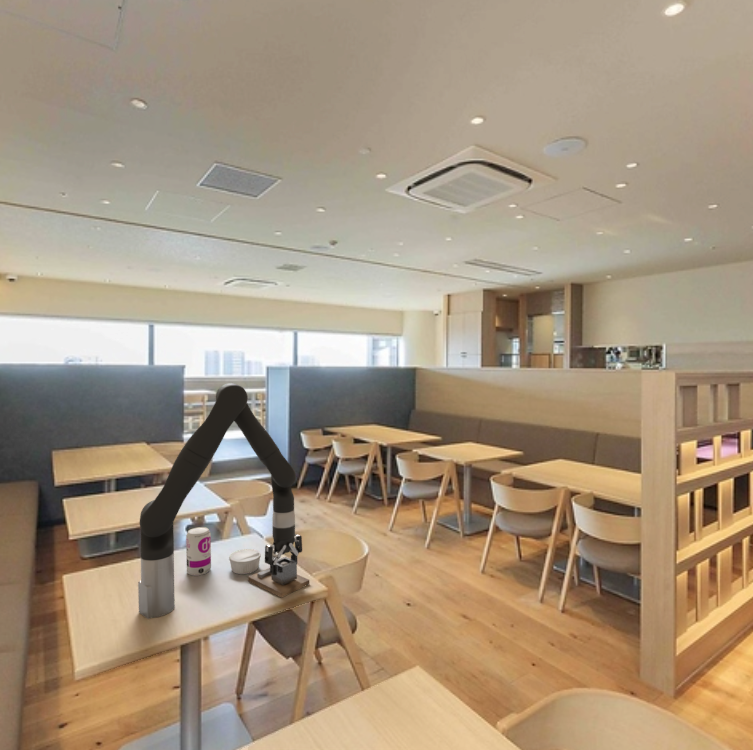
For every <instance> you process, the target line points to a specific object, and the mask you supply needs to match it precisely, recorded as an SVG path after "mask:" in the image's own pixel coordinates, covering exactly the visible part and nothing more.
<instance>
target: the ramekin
mask: <svg viewBox="0 0 753 750" xmlns="http://www.w3.org/2000/svg"><path fill="white" fill-rule="evenodd" d="M228 558H229V559H228V560H229V563H230V568H231V571H232V572H233V573H234V574H237V575H247V574H252V573H253V572H256V571H257V570H258V568H259V566H260V561H261V552H260V551H259V550H257V549H255V548H253V549H252V548H244V549H239V550H236V551H233V552H231V553H230V555H229V557H228Z"/></svg>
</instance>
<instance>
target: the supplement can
mask: <svg viewBox="0 0 753 750" xmlns="http://www.w3.org/2000/svg"><path fill="white" fill-rule="evenodd" d="M211 535H212V534H211V531H210V530H209V528H208V527H206V526H199V527H193V528H191V529H189V530H187V533H186V537H185V539H186V540H185V544H186V546H185V547H186V572H187V574H188V575H190V576H194V577H195V576H196V577H197V576H203V575H205V574H207V573H209V572H210V570H211V569H212V548H211V547H212V546H211V545H212V541H211V539H212V537H211Z"/></svg>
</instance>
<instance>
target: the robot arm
mask: <svg viewBox="0 0 753 750" xmlns="http://www.w3.org/2000/svg"><path fill="white" fill-rule="evenodd" d="M234 422H235V424H236V425H237V426H238V428H239V429H240V431H241V433H242V434H243V435H244V437H245V440H246V441H247V442H248V444H249V445H250V448H251V449H252V451H254V453H255V454H256V456H257V458H258V459H259V460H260V462H261V463H262V464H263V465H264V467H266V469H267V470H268V472H269V474H270V477H271V480H270V481H271V487H272V488H271V489H272V496H273V500H272V518H271V519H272V520H271V521H272V522H271V523H272V524H271V525H272V526H271V527H272V528H271V529H272V539H273V543H272V544H270V545H269V544H266V545H265V547H264V564H268V565H269V568H270V573H271V574H272V575H274V576H275V575H277V564H276V563H277V561H278V560H279V559H281V557H282V556H283V555H285V554H288V553H290V559H292V560H294V561H297V562H298V555H299V554H300V553H301V554H302V553H303V540H302V539H303V536H302V535H300V534H297V533H296V514H295V513H296V512H295V496H294V493H293V490H292V486H294V483H295V482H296V480H297V475H296V474H297V473H296V471H295V469H294V468H293V467H292V465H291V464H290V463H289V461H288V460H287V459H286V458H285V456H284V455H283V453H282V452H281V450H280V448H279V446H278V445H277V444H276V442H275V441H274V439H273V438H272V437H271V435H270V434H269V433H268V431H267V430H266V428H265V427H264V426H263V425H262V424H261V422H260V421H259V420H258V419H257V417H256V416H255V415H254V413H253V411H252V410H251V408H250V405H249V403H248V392H247V391H246V389H245V388H244V387H243V386H242V385H239V384H237V383H233V382H232V383H231V382H228V383H225V384H222V385H221V386H219V388H218V389H217V391H216V393H215V403H214V404H213V406H212V408H211V410H210V412H209V414H208V416H207V417H206V419H204V421H203V422H202V424H201V425H200V426H199V427H198V428H197V429H196V430H195V431H194V432H193V433H192V434H191V436H190V437H189V438H188V440H187V441H186V442H185V444H184V445H183V446H182V449H180V452H179V453H178V454H177V457H176V458H175V460H174V462H173V465H172V467H171V468H170V471H169V473H168V476H167V478H166V481H165V483H164V485H163V487H162V488H161V490H160V491H159V493H158V495H157V496H156V497H155V498H154V499H153V500H151V501H148V502H147V503H146V504H145V505H144V507H142V510H141V511H140V514H139V515H140V517H139V527H140V549H139V550H140V551H139V552H140V580H139V581H138V583H137V587H138V589H137V590H138V613H139V614H140V615H142V616H143V617H144V618H145V619H147V620H149V619H152V618H159V617H163V616H165V615H167V614H170V613H171V612H172V611H173V610H175V609H174V608H175V605H176V604H175V602H176V601H175V550H174V549H175V539H174V536H175V535H174V522H175V520H176V517H177V515H178V513H179V511H180V509H181V507H182V505H183V503H184V501H185V500H186V498H187V496H188V495H189V493H190V492H191V491H192V489H194V487H195V486H196V484H197V482H198V481H199V480H200V477H202V475H203V473H204V472H205V471H206V469H207V468H208V465H210V463H211V461H212V459H213V458H214V456H215V454H216V452H217V450H218V449H219V447H220V446H221V444H222V441H223V439H224V437H225V435H226V433H227V432H228V430H229V428H230V427H231V426H232V424H233V423H234Z"/></svg>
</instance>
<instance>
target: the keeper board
mask: <svg viewBox="0 0 753 750" xmlns="http://www.w3.org/2000/svg"><path fill="white" fill-rule="evenodd" d="M286 564H288V563H287V562H282V563H281V565H286ZM247 578H248V579H247V581H248V582H250V583H252V584H254V585H255V586H257V587H259V588H261V589H263V590H265V591H267V592H269V593H271V594H274V595H275V596H278V597H279V598H281V599H282V598H284V597H286V596H288V595H289V594H292V593H294V592H296V591H298V590H300V589H302V587H303V586H305V585H307V584H309V585H310V579H308V578H306V577H304V576H301V575H299V574H297V579H295V580H293V581H291V582H289V583H287V584H285V585H281V584H279V583H277V582H275V581H273V580H272V574H271V573H270V567H269V568H266V569H263V570H261V571H259V572H256V573H254V574H251V575H249V576H247ZM307 586H308V585H307ZM305 587H306V586H305ZM303 588H304V587H303Z"/></svg>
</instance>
